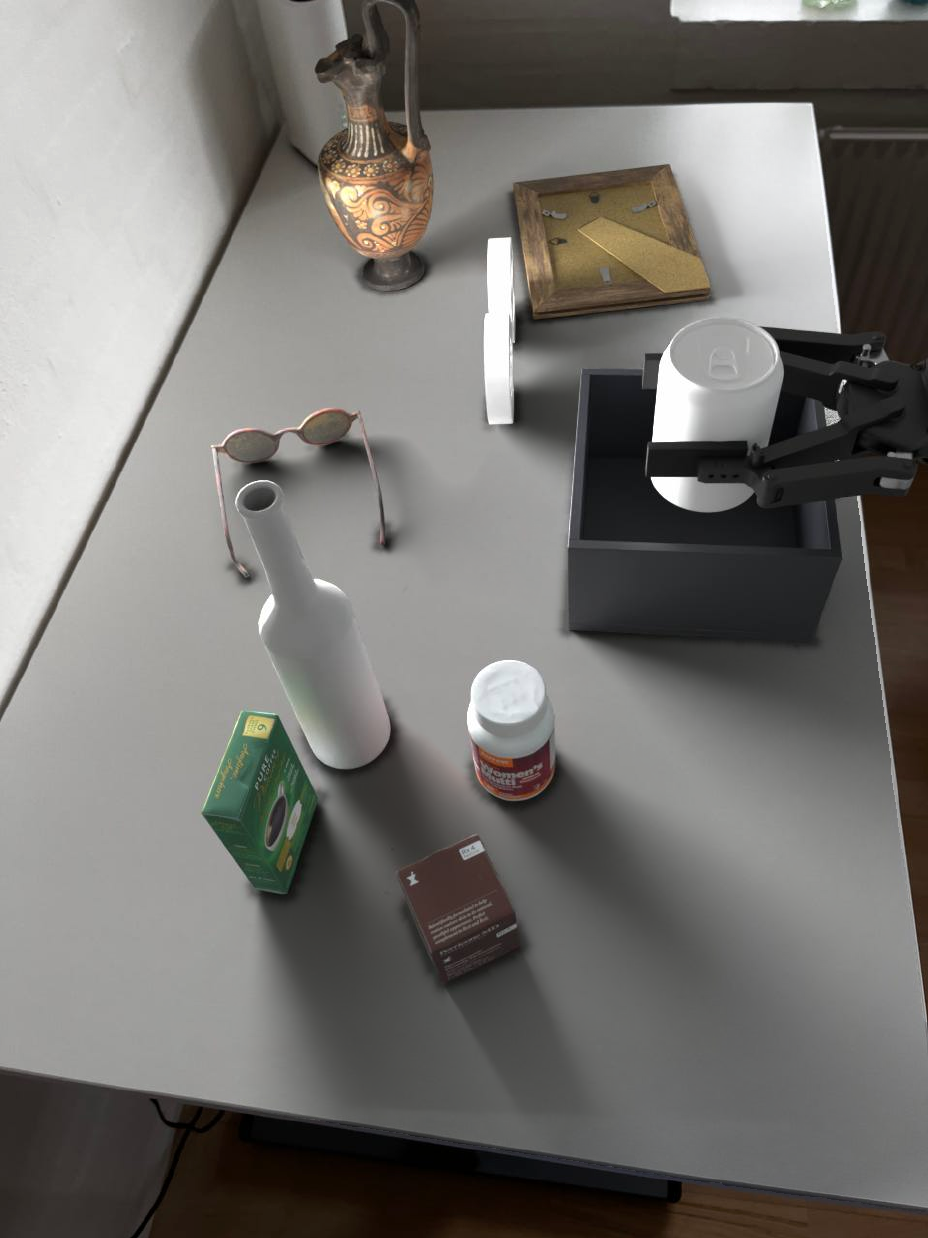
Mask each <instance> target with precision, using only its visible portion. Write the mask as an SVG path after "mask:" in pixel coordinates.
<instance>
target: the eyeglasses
mask: <svg viewBox="0 0 928 1238" xmlns="http://www.w3.org/2000/svg"><path fill="white" fill-rule="evenodd" d="M355 420H358V424H359V427H360V431H361V435H362V440H363V442H364V443H363V444H364V446H365V449H366V453H367V457H368V458H367V459H368V461H369V466H370V469H371V473H372V476H373V481H374V483H375V488H376V489H375V490H376V495H377V501H378V510H379V523H380V535H379V544H380V546H384V545H385V543H386V542H385V541H386V540H385V539H386V520H385V519H386V518H385V509H384V501H383V495H382V489H381V486H380V480H379V477H378V473H377V470H376V465H375V462H374V458H373V455H372V451H371V450H372V449H371V447H370V444H369V439H368V436H367V435H368V434H367V432H366V428H365V424H364V420H363V417H362V413H361V410H359V409H357V410H355V411H352V412H348V411H346V410H345V409H343V408H338V407H328V408H323V409H320V410H317V411H314V412H313V413H311V414H310V415H308V416H307V417H306V418H305V419H304V420H303V422H302V423H301V424H300V426H297V427H286V428H282V429H280V430H278V431H277V432H275V433H271V432H269V431H267V430H265V429H261V428H256V427H249V428H248V427H246V428H239V429H237V430H234V431H232V432H231V433H229V434H228V435H227V436H226V437H225V439H224V440H223V442H222V443H219V444H217V443H216V444H212V445H211V446H210V447H211V451H212V456H213V457H212V459H213V464H214V472H215V480H216V487H217V494H218V500H219V507H220V515H221V520H222V527H223V532H224V536H225V541H226V545H227V549H228V552H229V555H230V558H231V561H232V563H233V564H234V566H235V567H236V569H238V571H240V573H241V574H242V575H243V576H244V577H245V578H248V577H249V576H250V573H249V572H248V571H247V570H246V568H244V567H243V564H241V563H240V561H238V559H237V558H236V555H235V551H234V546H233V543H232V539H231V538H232V537H231V535H230V530H229V523H228V517H227V510H226V503H225V496H224V488H223V481H222V474H221V467H220V461H219V454H218V453H222V454H225V456H227V457H228V458H229V459H231V460H233V461H235V462H238V463H243V464H257V463H261V462H265V461H267V460H270V459H271V458H272V457H274V455H275V454H276V453H277V452H278V450H279V448H280V442H281V438H282V437H283V436H284V435H285V434H288V433H292V434H294V435H295V436H297V437H298V438H299V439H300V440H301V441H302V443H305V444H308V445H311V446H326V445H330V444H332V443H335V442H337V441H339V440H341V439H342V438H344V437H345V436H346V435H347V434H348V433H349V431H350V430H351V428H352V424H353V422H355Z"/></svg>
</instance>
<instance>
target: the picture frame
mask: <svg viewBox="0 0 928 1238" xmlns="http://www.w3.org/2000/svg"><path fill="white" fill-rule="evenodd" d="M512 187H513V199H514V205H515V210H516V217H517V223H518V229H519V235H520V242H521V248H522V254H523V261H524V267H525V273H526V280H527V285H528V291H529V299H530V304H531V310H532V317H533V320H543V319H551V318H558V317H560V318H561V317H569V316H576V315H577V316H578V315H586V314H594V313H603V312H613V311H622V310H629V309H637V308H638V309H639V308H646V307H655V306H665V305H672V304H673V305H674V304H681V303H690V302H699V301H707V300H710V293H711V289H712V286H711V284H710V280H709V278H708V274H707V272H706V270H705V266H704V264H703V261H702V257H701V255H700V252H699V249H698V246H697V243H696V242H697V241H696V240H695V236H694V233H693V230H692V228H691V227H692V226H691V224H690V222H689V218H688V215H687V212H686V209H685V206H684V203H683V200H682V198H681V195H680V194H681V193H680V190H679V188H678V185H677V182H676V179H675V176H674V172H673V170H672V167H671V164H670V163H665V164H656V165H648V166H647V165H646V166H640V167H632V168H631V167H630V168H623V169H615V170H606V171H600V172H590V173H582V174H573V175H564V176H558V177H549V178H548V177H547V178H540V179H533V180H524V181H516V182H512Z"/></svg>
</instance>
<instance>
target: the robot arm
mask: <svg viewBox="0 0 928 1238" xmlns="http://www.w3.org/2000/svg"><path fill="white" fill-rule="evenodd" d="M758 326H759V327H761V328H763V329H764V330H765V331H767V332H768V333H769V334H770V335H771V336H772V337H773V338H774V340H775V341H776V343H777V345H778V348H779V352H780V357H781V360H782V363H783V368H784V376H783V382H782V386H781V391H785V392H788V393H792V394H796V395H799V396H803V397H807V398H811V399H814V400H818V401H821V402H822V404H823V406H824V408H825V409H827V410H831V411H835V412H836V413H837V415H838V417H839V418H840V419H839V420H838V421H837V422H835V423H832V424H829V425H827V426H826V427H823V428H820V429H817V430H814V431H811V432H808V433H805V434H802V435H799V436H796V437H793V438H791V439H788V440H785V441H782V442H779V443H776V444H773V445H770V446H767V447H764V448H760V447H759V446H757V443H755V444H753V445H752V447H751V452H750V456H747V452H748V443H747V441H671V442H648V447H647V459H646V477H697V481H698V482H702V483H743V484H746V485H747V486H748V487H751V488H752V489H753V491H754V492H755V494H756V495H757V504H758V505H759V506H760V507H762V508H774V507H782V506H789V505H796V504H803V503H811V502H818V501H825V500H833V499H836V500H839V499H847V498H853V497H861V496H867V495H874V496H883V497H884V496H885V497H891V498H903V497H906V496H907V495H908V493H909V491H910V489H911V485H912V483H913V481H914V479H915V477H916V474H917V471H918V469H919V465H918V463H917V461H918V462H919V463H921V464H922V465H924V466H926V467H927V466H928V357H927V358H926V359H924V360H922V361H920V362H919V363H915V364H908V363H903V362H899V361H897V360H891V359H889V356H888V355H887V353H886V351H885V349H884V346H885V343H886V340H887V335H886V334H885V332H882V331H879V330H878V331H876V330H875V331H867V332H860V333H853V334H851V333H840V332H839V333H838V332H828V331H818V330H817V331H816V330H805V329H795V328H783V327H773V326H763V325H758ZM663 354H664V352H655V353H654V352H653V353H652V352H651V353H650V352H649V353H647V352H646V353H645V352H644V354H643V367H642V369H643V378H642V389H658V378H659V368H660V362H661V359H662V356H663ZM843 381H845V383H844V384H842V382H843ZM841 385H842V386H841ZM756 446H757V447H756ZM870 454H873V455H871V456H867V455H870ZM916 460H917V461H916Z"/></svg>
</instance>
